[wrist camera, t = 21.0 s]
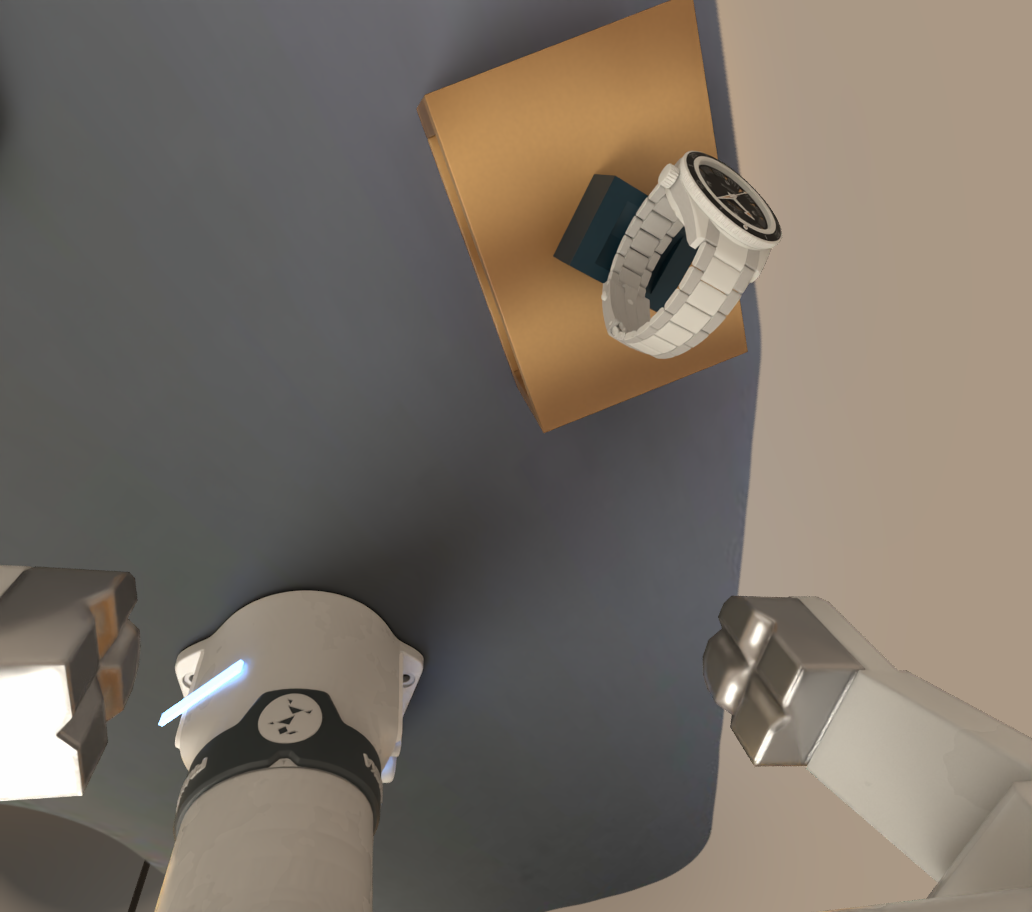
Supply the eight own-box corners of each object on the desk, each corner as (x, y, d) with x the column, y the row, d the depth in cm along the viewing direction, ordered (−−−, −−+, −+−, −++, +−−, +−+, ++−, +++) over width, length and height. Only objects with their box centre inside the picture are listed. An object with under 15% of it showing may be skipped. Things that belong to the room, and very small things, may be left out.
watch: (701, 190, 31) (843, 204, 22) (622, 331, 34) (718, 400, 24) (612, 133, 29) (725, 120, 20) (535, 287, 32) (601, 343, 22)
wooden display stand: (688, 320, 43) (748, 351, 36) (517, 388, 43) (543, 433, 36) (629, 26, 35) (692, -9, 27) (415, 108, 34) (424, 94, 27)
